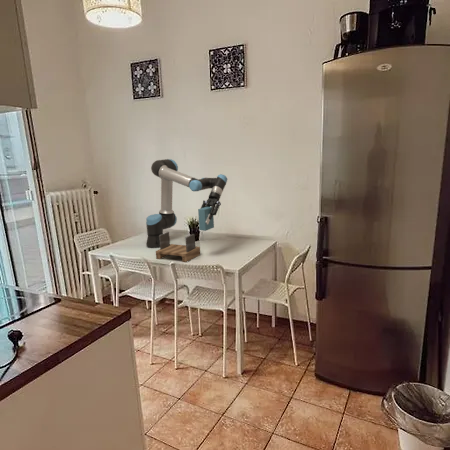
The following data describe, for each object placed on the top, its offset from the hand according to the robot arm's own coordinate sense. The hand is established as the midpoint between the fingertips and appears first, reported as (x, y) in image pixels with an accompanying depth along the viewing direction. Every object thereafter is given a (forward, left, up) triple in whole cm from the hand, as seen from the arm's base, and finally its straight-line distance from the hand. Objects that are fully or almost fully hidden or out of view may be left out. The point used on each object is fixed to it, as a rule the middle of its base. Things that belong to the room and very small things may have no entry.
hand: (203, 222), depth 236 cm
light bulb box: (-77, +45, -24) cm, 92 cm away
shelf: (-19, -4, -24) cm, 31 cm away
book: (0, +4, -5) cm, 6 cm away
